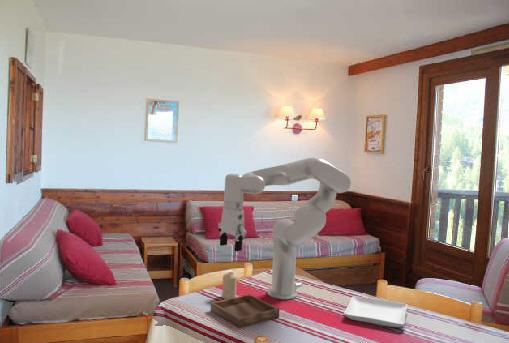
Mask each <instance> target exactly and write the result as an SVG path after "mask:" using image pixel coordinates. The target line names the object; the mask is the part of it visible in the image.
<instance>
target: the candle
mask: <svg viewBox="0 0 509 343" xmlns="http://www.w3.org/2000/svg"><path fill="white" fill-rule="evenodd" d="M237 279H238V278H237V275H236V274H235V273H234V272H230V271H229V272H226V273H224V274H223V276H222V288H221V289H222V293H221V297H222V298H223V300H226V299H230V298H235V297H237V281H238V280H237Z"/></svg>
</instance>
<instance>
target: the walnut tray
mask: <svg viewBox="0 0 509 343" xmlns="http://www.w3.org/2000/svg"><path fill="white" fill-rule="evenodd" d="M210 312H211V313H213V314H215V315H217V316H218V317H220V318H222V319H224V320H225V321H227V322H228V323H231V325H233V326H235V327H237V328H238V329H241V328H246V327H249V326H251V325H255V324H260V323H263V322H266V321H270V320H274V319H276V318H279V317H280V308H278V307H276V306H275V305H272V304H270V303H268V302H266V301H264V300H263V299H260V298H258V297H257V296H254V295H252V294H250V293H249V294H245V295H240V296H239V295H238V296H236V297H235V298H230V299H223V300H218V301H214V302H210Z"/></svg>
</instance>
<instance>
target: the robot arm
mask: <svg viewBox="0 0 509 343" xmlns="http://www.w3.org/2000/svg"><path fill="white" fill-rule="evenodd" d="M311 179H313V180H316V181H317V182H319V188H318V191H317V193H316V194H315V195H313V196H312V197H311V198H309V199H308V200H307V201H306V202H305V203H303V204H302V205H300V206H299V207H298V208H297V209H296V210H295V212H294V220H295V221H293V220H290V219H288V218H282V219H278V220H277V221H276V222H275V223H274V225H273V227H272V244H273V245H272V246H273V247H272V248H273V250H272V251H273V252H272V269H271V270H272V272H271V287H270V288H268V289H267V295H268V296H269V297H271V298H274V299H278V300H291V299H295V298H297V297H298V295H299V294H298V290H297V289H299V288H302V287H303V282H297V283H296V281H295V279H296V265H297V264H296V261H297V248H298V247H301V246H303V245H304V244H305V243H307V242H308V241H309V240H310V239H312V238H313V237H314V236H315V235H317V234H318V233H319V232H321V231H322V230H323V228H324V227H325V226H326V223H327V216H326V215H327V214H326V213H327V212H329V211H330V210H331V209H332V207H334V204H335V202H336V198H337V194H343V193H346V192H347V191H348V190H350V188H351V184H352V183H351V182H352V181H351V178H350V176H349V175H348V174H347V173H345V172H344V171H342V169H339V168H337V167H336V166H334V165H333V164H331V163H330V162H328V161H327V160H324V159H322V158H315V157H307V158H304V159H298V160H296V161H293V162H287V163H285V164H279V165H276V166H271V167H266V168H261V169H256V170H254V171H250V172H247V173H243V175H242V174H238V173H229V174H226V175H225V179H224V196H223V197H224V198H223V208H222V213H221V220H220V222H218V223H217V225H218V226H217V227H218V232H219V236H220V238H219V246H221V247H222V246H223V247H225V246H227V245H228V235H232V236H234V238H235V241H234V251H235V252H242V251H243V241H244V239H245V238H246V236H247V232H248V231H247V230H246V229H245V211H244V208H243V205H244V193H245V194H250V195H257V194H261V193H262V192H264V189H265V187H267V186H268V187H269V186H270V187H271V186H289V185H293V184H296V183H299V182H302V181H306V180H311Z"/></svg>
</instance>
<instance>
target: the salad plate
mask: <svg viewBox="0 0 509 343" xmlns="http://www.w3.org/2000/svg"><path fill="white" fill-rule="evenodd" d="M408 307H409V305H408V304H407V303H402V302H395V301H390V300H385V299H378V298H372V297H371V298H370V297H363V296H358V295H353V296H352V297H351V299H350V301H349V303H348V305H347V307H346V308H345V309H344V312H343V315H345V317H346V318H348V319H349V320H354V321H357V322H362V323H368V324H373V325H378V326H384V327H390V328H400V327H404V325H405V323H406V314H407V310H408Z"/></svg>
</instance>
